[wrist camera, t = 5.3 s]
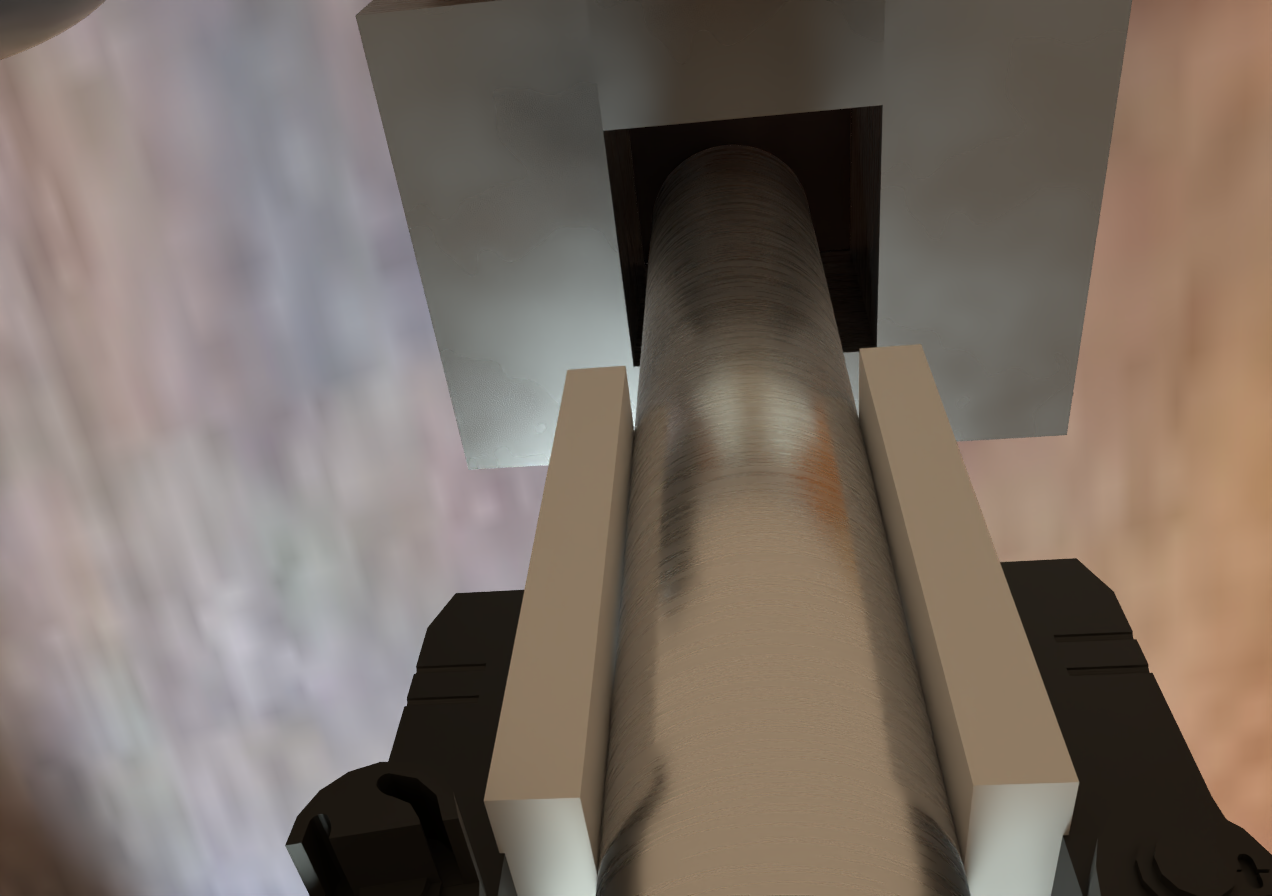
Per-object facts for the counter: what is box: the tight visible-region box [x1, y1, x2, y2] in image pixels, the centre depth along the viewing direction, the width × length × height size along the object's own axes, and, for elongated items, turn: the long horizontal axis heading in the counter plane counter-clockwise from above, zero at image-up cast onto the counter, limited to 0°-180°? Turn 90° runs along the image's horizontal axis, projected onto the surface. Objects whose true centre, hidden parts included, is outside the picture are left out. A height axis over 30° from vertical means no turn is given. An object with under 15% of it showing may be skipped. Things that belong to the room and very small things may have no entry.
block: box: [356, 0, 1132, 470], centre depth 20 cm, size 12×9×4 cm
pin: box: [596, 145, 971, 896], centre depth 13 cm, size 4×4×17 cm
